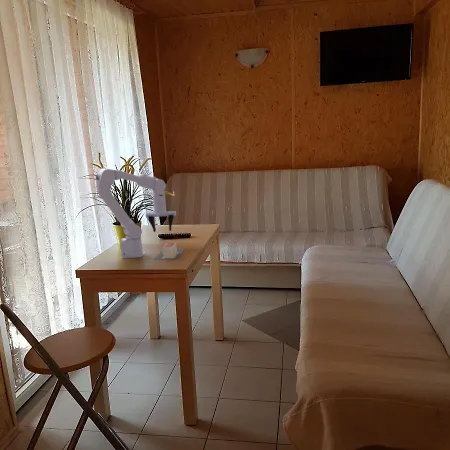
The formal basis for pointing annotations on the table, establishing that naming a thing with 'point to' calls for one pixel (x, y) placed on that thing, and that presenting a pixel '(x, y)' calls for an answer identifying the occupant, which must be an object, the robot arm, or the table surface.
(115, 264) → the table surface
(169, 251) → the card box
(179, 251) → the mat
